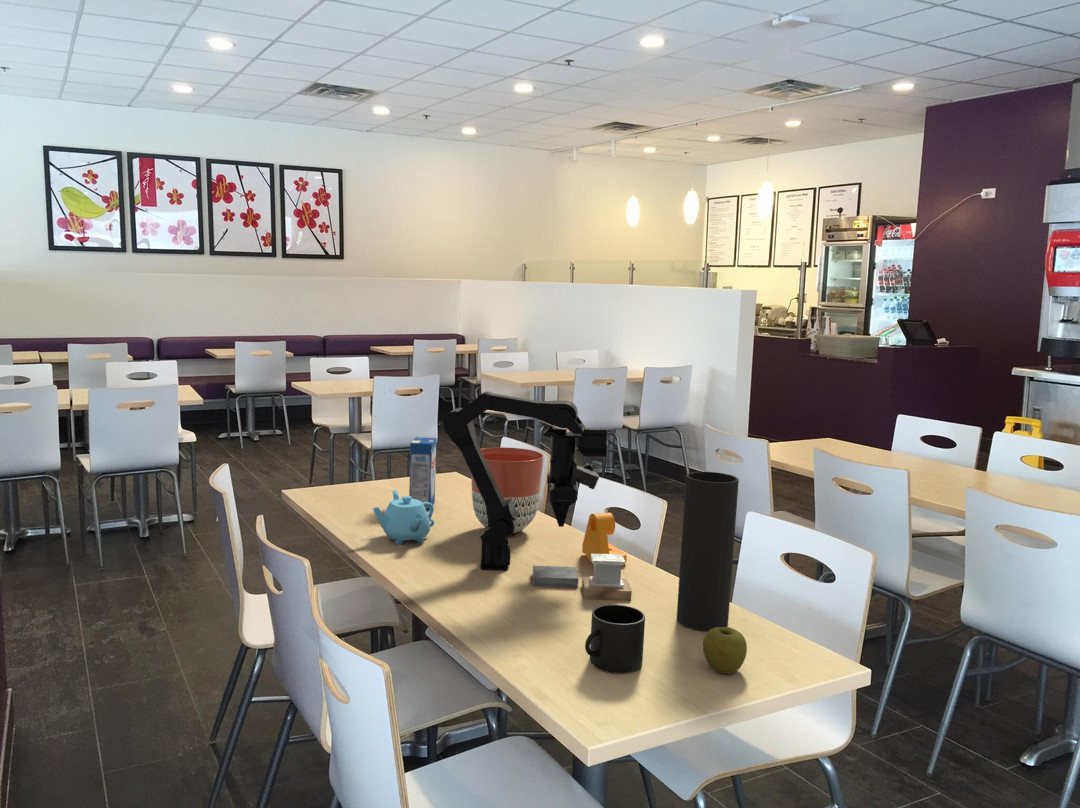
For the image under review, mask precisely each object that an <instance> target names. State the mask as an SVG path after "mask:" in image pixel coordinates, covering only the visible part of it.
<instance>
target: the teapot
mask: <svg viewBox="0 0 1080 808" xmlns="http://www.w3.org/2000/svg"><path fill="white" fill-rule="evenodd" d="M391 492H392V496H393V497H392V500H390V501H389V503H388V504H387V505H388V506H387V507H386V509H385V511H384V513H383V512H382V511H381V509H380V507H378V506H377V507H372V510H373V512H374V514H375V516H376V518H377V520H378V523H379V524H380V526H381V528H382V529H383V532H384V534H385V535H386V536H387V538H388V539H391V540H395V542H394V544H395V545H399V546H401V545H404V544H405V541H410V540H414V541H415V542H416V543H423V542H425V540H424V538H426V537H427V536H428V535H429V532H430V531H431V528H432V527H433V526H434V525H435V520H433V518H432V517H433V514H434V505H432V504H431V503H429V502H423V503H422V502H421V501H419V500H416V499H412V497H411V496H409V495H404V496H401V498H400V496H399V493H398V491H397V490H395V489H393V490H391ZM424 505H429V506H430V511H426V509H425V506H424ZM430 522H431V523H430Z"/></svg>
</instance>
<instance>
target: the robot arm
mask: <svg viewBox="0 0 1080 808" xmlns="http://www.w3.org/2000/svg"><path fill="white" fill-rule="evenodd" d="M486 411H493V412H499V413H503V414H509V415H515V416H522V417H527V418H533V419H537V420H540V421H542V422H544V423H546V424H548V425H549V427H548V428H547V429H546V430H545V431H544V432H543V434H542V435H543V437H551V439H550V440H551V441H550V442H551V443H550V457H549V464H550V467H549V472H548V473H547V474H546V484H547V489H548V492H549V495H548V496H549V497H548V498H549V502H550V505H551V508H552V511H553V513H554V514H553V515H554V516H555V519H556V522H557V525H558V527H561V528H562V527H564V526H565V524H566V523H565V522H566V519H567V515H568V512H569V508H570V506H572V505H573V504H575V503H576V502H577V501H578V494H579V493H578V488H577V487H576V485H577V483H579V484H581V485H583V486H585V487H588V488H589V489H590V490H595V488H596V486H597V483H598V481H599V478H600V475H599V473H597V471H594V467H593V465H592V464H589V463H585V464H584V465H583V466H581V465H578V463H577V460H576V450H578V453H580V455H582V457H583V458H594V459H595V458H599V459H601V458H602V459H608V451H609V450H608V447H609V446H608V444H609V441H608V432H609V431H608V428H602V427H601V428H590V427H588V428H587V427H586V426H585V424H584V422H582V420H581V419H580V417H579V416H578V415H579V411H578V407H577V406H576V404H575V403H574V402H572V401H570V400H545V401H544V400H534V399H528V398H523V397H516V396H512V395H511V396H510V395H505V394H499V393H498V394H497V393H493V392H492V391H484V392H481V393H480V394H479V396H477V397H476V398H475V399H474V400H472V401H471V402H470V403H469V404H467V405H465V406H464V407H456V408H454V409H453V410H451V411H449V412H448V413H446V414H445V416H444V417H443V420H442V428H443V430H444V432H445V433H446V435H447V436H448V437H449V439H450V440H451V442H452V443H454V445H455V446H456V447H457V449H459V450H460V452H461V454H462V457H463V459H464V460H465V463H466V465H467V467H468V470H469V472H470V473H471V474H472V476H473V478H474V480H475V483H476V485H477V487H478V489H479V491H480V493H481V496H482V498H483V500H484V502H485V505H486V512H487V518H488V522H489V525H488V526H487V527H486V528H485V527H484V530H483V531H482V534H481V535H480V541H481V553H480V554H481V556H480V558H481V559H480V564H479V565H480V566H479V568H480V570H501V571H502V570H503V571H504V570H505V571H506V570H509V566H510V565H511V555H512V554H511V549H512V547H511V545H509V537H511V536H512V535H513V534H514V533H513V532H514V530H515V528H516V526H517V523H518V517H517V516H518V514H519V512H518V511H517V510H516V509H515V507H514V503H513V500H512V499H510V500H508V501H506V500H505V499H504V497H503V496H502V495H501V494H500V491H499V489H498V487H497V485H496V483H495V480H494V478H493V476H492V474H491V472H490V470H489V467H488V465H487V463H486V461H485V459H484V457H483V454H482V452H481V450H480V449H481V448H480V446H479V443H478V441H477V435H476V429H475V428H476V427H475V424H474V420H475V419H476V418H478V417H479V416H480V415H482V414H483V413H485V412H486ZM555 427H557V428H555ZM568 431H570V432H568ZM577 439H578V447H577ZM576 448H578V449H576ZM512 533H513V534H512Z"/></svg>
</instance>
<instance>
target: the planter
mask: <svg viewBox="0 0 1080 808" xmlns="http://www.w3.org/2000/svg"><path fill="white" fill-rule="evenodd" d="M480 450H481V452H482V454H483V457H484V459H485V461H486V463H487V465H488V467H489V470H490V472H491V474H492V476H493V478H494V480H495V483H496V485H497V487H498V489H499V491H500V494H501V495H502V496H503V497H504V499H505V500H506V501H508V500H510V499H512V500H513V503H514V507H515V509H516V510H517V511H518V512H519V514H518V516H517V517H518V523H517V526H516V528H515V530H514V532H513V533H512V535H513V534H516V533H519V532H521V531H523V530H524V529H526V528H527V527H528V526H529V525H530V524H531V523H532V522H533V521H534V519H535V516H536V515H537V512H538V508H539V505H540V498H541V489H542V479H543V478H542V477H543V468H544V459H545V457H544V454H543V453H542V452H539V451H536V450H533V449H529V448H528V449H527V448H522V447H521V448H519V447H505V446H504V447H485V448H480ZM470 477H471V479H470V480H471V500H472V501H471V502H472V508H473V511H474V515H475V517H476V518H477V520H478V522H479V523H480V525H482V526H483V527H484V529H485V528H486V527H487V526H488V525H489V522H488V518H487V512H486V505H485V502H484V500H483V498H482V496H481V493H480V491H479V489H478V487H477V485H476V483H475V480H474V478H473V476H472V474H471V476H470Z"/></svg>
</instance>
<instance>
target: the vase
mask: <svg viewBox="0 0 1080 808" xmlns="http://www.w3.org/2000/svg"><path fill="white" fill-rule="evenodd" d="M739 482H740V480H739V478H738V477H737V476H734V475H732V474H728V473H723V472H722V473H721V472H714V471H692V472H688V473H686V475H685V485H684V499H683V500H684V501H683V513H682V514H683V516H682V518H683V519H682V531H681V545H680V561H679V562H680V563H679V576H678V577H679V578H678V594H677V604H676V605H677V607H676V609H677V610H676V620H677V622H678V623H679V624H680V625H682V626H683V627H685V628H687V629H690V630H695V631H700V632H708V631H709V630H710V629H712V628H715V627H728V625H729V618H730V617H729V615H730V604H731V603H730V602H731V601H730V600H731V592H732V591H731V588H732V574H733V563H734V548H735V535H736V521H737V510H738V509H737V506H738V496H739V495H738V493H739Z"/></svg>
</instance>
